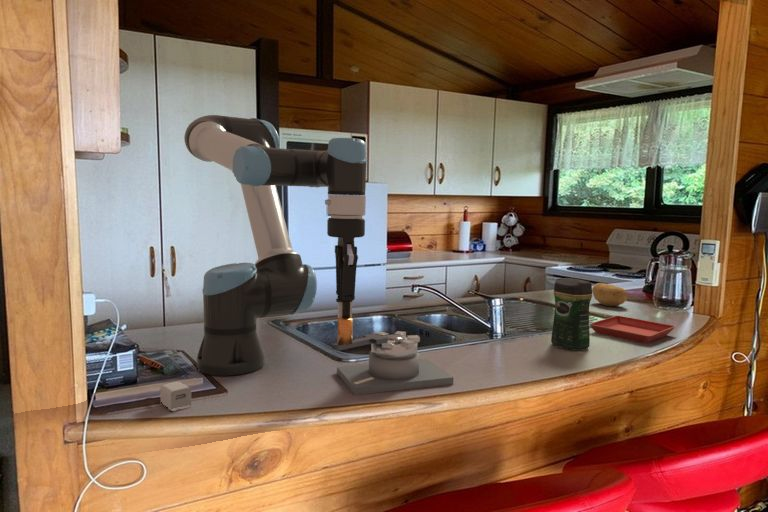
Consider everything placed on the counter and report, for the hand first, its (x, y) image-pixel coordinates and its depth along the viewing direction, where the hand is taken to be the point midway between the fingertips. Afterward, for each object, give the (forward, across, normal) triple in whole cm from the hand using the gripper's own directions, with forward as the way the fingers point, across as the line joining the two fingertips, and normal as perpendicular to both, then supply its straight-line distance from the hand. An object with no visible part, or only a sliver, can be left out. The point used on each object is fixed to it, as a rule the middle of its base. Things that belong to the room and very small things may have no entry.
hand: (344, 332), depth 115 cm
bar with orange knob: (+6, -2, +7) cm, 9 cm away
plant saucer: (+12, -30, +91) cm, 97 cm away
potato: (+12, -69, +112) cm, 132 cm away
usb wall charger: (+12, +2, -33) cm, 35 cm away
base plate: (+12, -4, +12) cm, 17 cm away
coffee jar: (+12, -20, +65) cm, 69 cm away
